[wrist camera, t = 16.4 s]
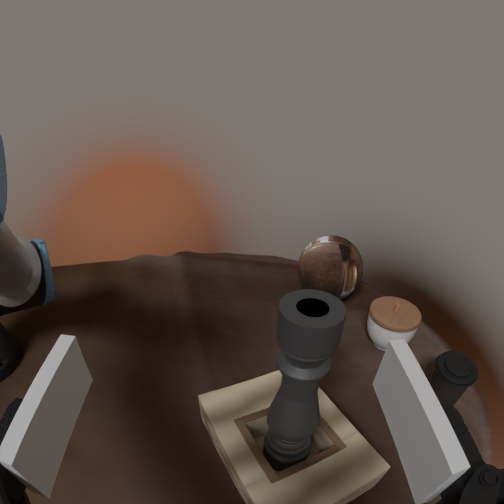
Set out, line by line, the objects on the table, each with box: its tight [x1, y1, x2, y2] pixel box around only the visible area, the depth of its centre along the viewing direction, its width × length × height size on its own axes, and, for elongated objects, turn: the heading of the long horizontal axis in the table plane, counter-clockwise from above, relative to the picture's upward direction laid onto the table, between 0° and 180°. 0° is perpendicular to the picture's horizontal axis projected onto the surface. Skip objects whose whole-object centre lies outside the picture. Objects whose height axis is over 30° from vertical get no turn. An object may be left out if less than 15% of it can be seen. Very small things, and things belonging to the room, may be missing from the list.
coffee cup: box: [430, 351, 478, 406], centre depth 41 cm, size 8×8×10 cm
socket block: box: [198, 370, 390, 504], centre depth 36 cm, size 22×16×6 cm
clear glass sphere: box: [298, 235, 363, 300], centre depth 72 cm, size 15×15×15 cm
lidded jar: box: [367, 296, 421, 351], centre depth 57 cm, size 11×11×9 cm
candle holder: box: [263, 289, 347, 472], centre depth 31 cm, size 6×6×25 cm
